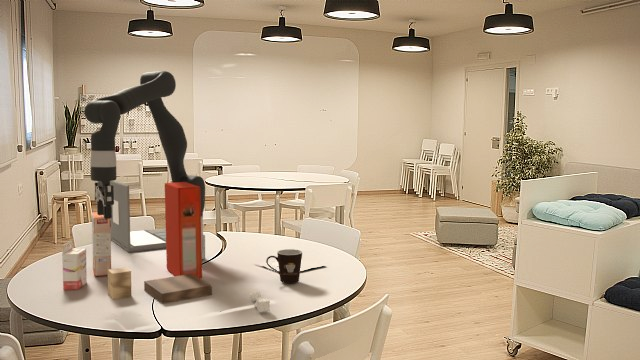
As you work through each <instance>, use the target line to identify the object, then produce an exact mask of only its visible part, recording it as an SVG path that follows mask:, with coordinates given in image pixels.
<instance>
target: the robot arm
mask: <svg viewBox="0 0 640 360" xmlns="http://www.w3.org/2000/svg"><path fill="white" fill-rule="evenodd" d="M176 85H177V84H176V79H175V77H174V75H173V74H172V73H171V72H170V71H167V70H159V71H158V70H156V71H147V72H143V73H142V74H141V76H140V80H139V84H138V85H134V86H130V87H127V88H124V89H122V90H119V91H117V92H115V93H113V94H110V95H107V96H103V97H99V98H96V99H92V100H90V101H89V102H88V103H86V105H85V107H84V111H83V115H84V117H85V119H86V120H87V121H89V122H90V123H92V124H101V127H100V129H99V130H97V131H94V132H92V133H91V135H90V150H91V151H90V158H89V159H90V161H89V164H90V180H91V181H93V182H94V201H95V202H96V212H97V214H98V215H104V218H105V219H110V218H112V205H114V189H113V188H114V187H113V185H110V181H117V177H118V176H117V155H116V135H117V132H118V128H119V123H120V121H121V115H125V114H127V113H129V112H131V111H133V110H134V109H137V108H138V107H140V106H142V105H144V104H146V105H147V107H148V108H149V111H150V113H151V116H152V119H153V121H154V126H156V127H155V128H156V130H157V133H158V138H159V140H160V143H161V147H162V150H163V151H164V154H165V155H164V156H165V159H166V162H167V165H168V169H169V173H170V179H171V183H176V182H187V183H190V184H193V185H196V186H199V187H200V199H201V250H202V260H206V234H204V210H205V205H206V204H205V203H206V202H205V200H206V184H205V180H204V179H203V178H202V176H200V175H192V174H191V175H188V174H187V172H186V168H185V164H184V160H185V156H186V152H187V149H188V140H187V138H186V137H187V136H186V134H185V130H184V128H183V125H182V124H181V123H180V122H179V120H178V119H177V118H176V117H175V116H174V115H173V114H172V113H171V112H170V111H169V110H168V108H167V107H166V106H165V104H164V101H163V99H162V98H166V97H170V96H172V95H173V93H175V91H176ZM107 200H109V201H107Z"/></svg>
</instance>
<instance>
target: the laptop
mask: <svg viewBox="0 0 640 360" xmlns="http://www.w3.org/2000/svg"><path fill="white" fill-rule="evenodd" d="M110 185H113V187H114V188H113V189H114V205H112V218H111V242H113V243H114V244H116V245H118V246H119V247H120V248H122V249H123V250H125V251H126V252H127V253H135V252H144V251H154V250H162V249H166V228H162V227H161V228H155V229H142V230H139V229H138V230H132V231H131V219H130V218H131V215H130V214H131V212H130V211H131V210H130V209H131V208H130V206H131V205H130V185H128V184H126V183H123V182H119V181H117V180H114V181H110ZM107 201H109V200H107Z"/></svg>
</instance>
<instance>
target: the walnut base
mask: <svg viewBox="0 0 640 360" xmlns="http://www.w3.org/2000/svg"><path fill="white" fill-rule="evenodd" d="M143 283H144V284H143V285H144V289H143V290H144V292H146V293H147V294H148V295H150V296H151V297H153V299H155V300H157V301H158V302H160V304H168V303H171V302H172V303H173V302H179V301H184V300H189V299H193V298H201V297H207V296H210V295H211V296H212V294H213V285H212V284H211V283H209V282H207V281H205V280H204V279H202V278H198V277H196V276H194V275H193V274H187V275H181V276H174V275H173V276H169V277H163V278H157V279H150V280H144V282H143Z"/></svg>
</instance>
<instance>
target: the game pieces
mask: <svg viewBox="0 0 640 360" xmlns="http://www.w3.org/2000/svg"><path fill="white" fill-rule="evenodd" d="M249 299H250V300H251V301H252V302H253V303H254V302H255V303H254V308H256V310H257V311H258V312H259V313H264V312H270V310H271V309H270V307H271V305H270V303H271V301H270V300H269V299H268V298H267V297H264V298H262V293H260V291H256V290H254V291H251V292H249Z"/></svg>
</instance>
